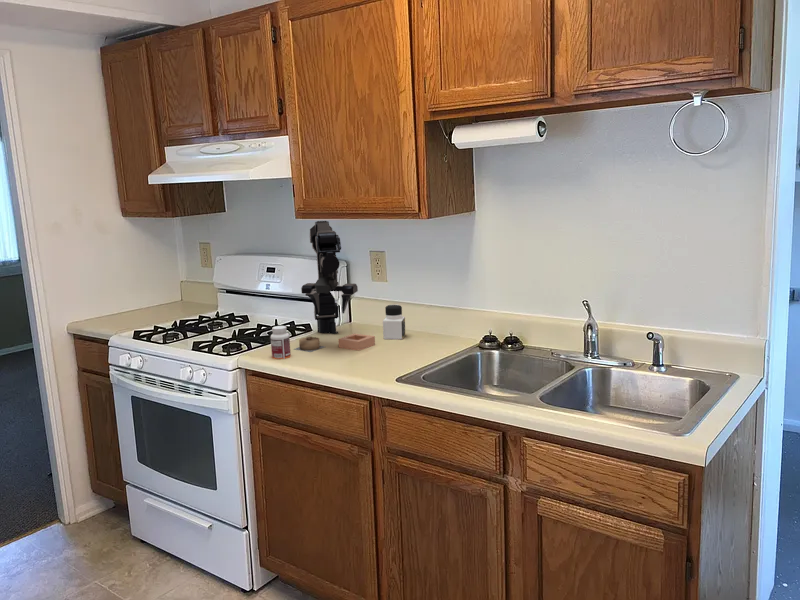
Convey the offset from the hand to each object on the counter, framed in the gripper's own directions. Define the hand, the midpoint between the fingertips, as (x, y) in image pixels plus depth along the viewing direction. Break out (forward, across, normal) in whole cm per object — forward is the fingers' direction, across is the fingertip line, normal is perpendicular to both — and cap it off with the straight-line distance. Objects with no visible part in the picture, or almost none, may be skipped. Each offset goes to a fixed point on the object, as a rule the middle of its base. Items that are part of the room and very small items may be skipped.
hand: (330, 313), depth 244 cm
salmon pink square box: (+13, +9, +1) cm, 15 cm away
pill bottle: (+13, -13, -16) cm, 24 cm away
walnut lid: (+12, -7, -4) cm, 14 cm away
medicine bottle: (+13, +18, +19) cm, 29 cm away
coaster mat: (+13, -7, -4) cm, 15 cm away
